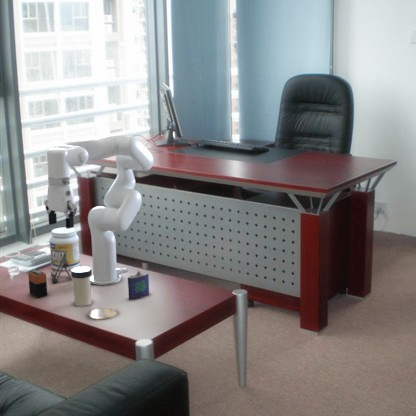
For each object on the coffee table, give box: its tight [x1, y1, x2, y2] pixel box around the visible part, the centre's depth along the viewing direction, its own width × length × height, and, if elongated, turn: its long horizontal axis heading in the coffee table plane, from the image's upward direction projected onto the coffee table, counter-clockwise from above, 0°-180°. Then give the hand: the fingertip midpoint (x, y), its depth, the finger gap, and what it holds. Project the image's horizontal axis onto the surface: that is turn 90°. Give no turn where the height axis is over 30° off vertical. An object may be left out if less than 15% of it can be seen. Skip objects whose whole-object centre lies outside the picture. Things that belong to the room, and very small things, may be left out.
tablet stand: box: [50, 257, 73, 284], centre depth 281 cm, size 9×8×8 cm
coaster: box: [87, 307, 118, 321], centre depth 246 cm, size 10×10×1 cm
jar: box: [72, 276, 92, 307], centre depth 255 cm, size 6×6×13 cm
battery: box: [27, 268, 48, 299], centre depth 263 cm, size 4×7×10 cm, turn 47°
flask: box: [127, 270, 150, 301], centre depth 263 cm, size 9×3×11 cm, turn 138°
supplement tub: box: [49, 226, 81, 271], centre depth 296 cm, size 12×12×17 cm
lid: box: [70, 266, 93, 279], centre depth 254 cm, size 7×7×2 cm
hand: (61, 225), depth 254 cm, fingers open, 9 cm apart
